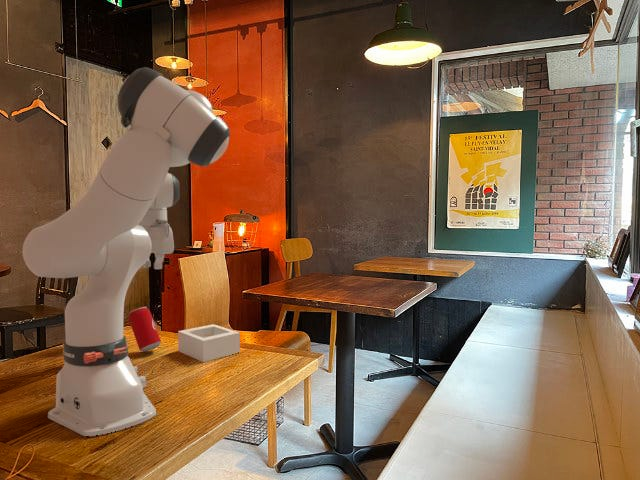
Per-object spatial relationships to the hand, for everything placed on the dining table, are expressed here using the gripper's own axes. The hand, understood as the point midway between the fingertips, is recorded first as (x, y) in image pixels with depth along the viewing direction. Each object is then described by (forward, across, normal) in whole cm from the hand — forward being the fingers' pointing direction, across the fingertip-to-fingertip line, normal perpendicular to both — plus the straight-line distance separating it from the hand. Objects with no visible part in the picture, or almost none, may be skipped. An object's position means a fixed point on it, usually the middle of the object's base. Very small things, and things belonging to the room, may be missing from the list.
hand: (152, 268), depth 134 cm
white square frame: (+25, -10, -12) cm, 29 cm away
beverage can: (+24, +1, +1) cm, 24 cm away
